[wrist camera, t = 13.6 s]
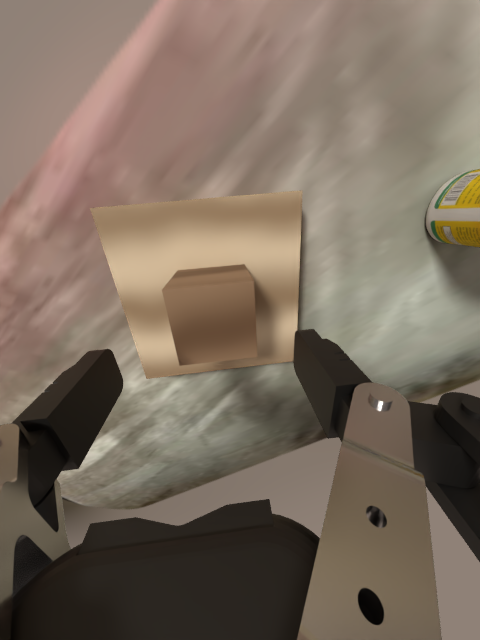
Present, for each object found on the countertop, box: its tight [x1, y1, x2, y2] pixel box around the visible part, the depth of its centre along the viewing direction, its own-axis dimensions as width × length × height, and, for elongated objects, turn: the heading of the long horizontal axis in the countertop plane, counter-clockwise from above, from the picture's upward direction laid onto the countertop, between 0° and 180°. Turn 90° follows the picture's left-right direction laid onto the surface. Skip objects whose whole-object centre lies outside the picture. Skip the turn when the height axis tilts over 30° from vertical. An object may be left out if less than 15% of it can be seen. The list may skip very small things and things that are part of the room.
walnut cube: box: [162, 264, 258, 366], centre depth 15 cm, size 5×5×5 cm
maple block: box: [90, 191, 302, 379], centre depth 19 cm, size 14×14×3 cm
